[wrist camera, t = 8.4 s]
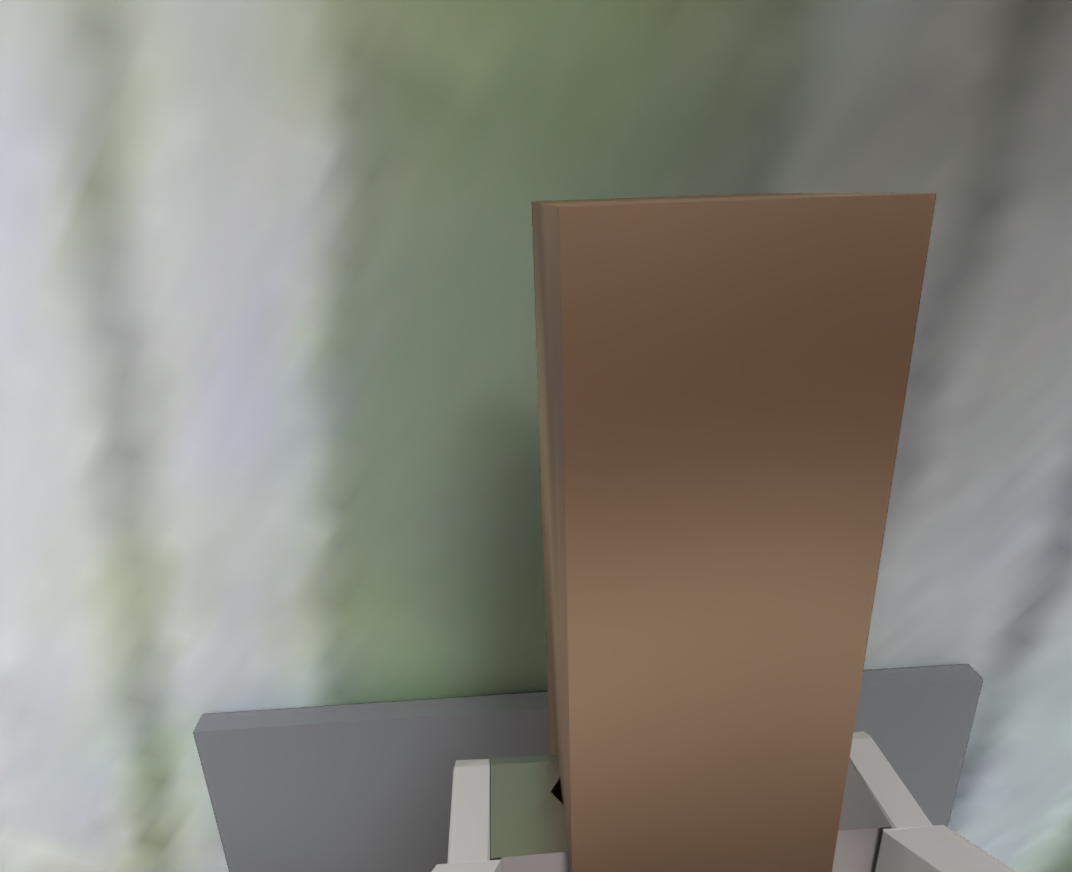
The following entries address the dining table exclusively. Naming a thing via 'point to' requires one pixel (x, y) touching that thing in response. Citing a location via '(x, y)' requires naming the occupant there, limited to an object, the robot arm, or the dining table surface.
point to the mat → (480, 733)
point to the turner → (715, 511)
